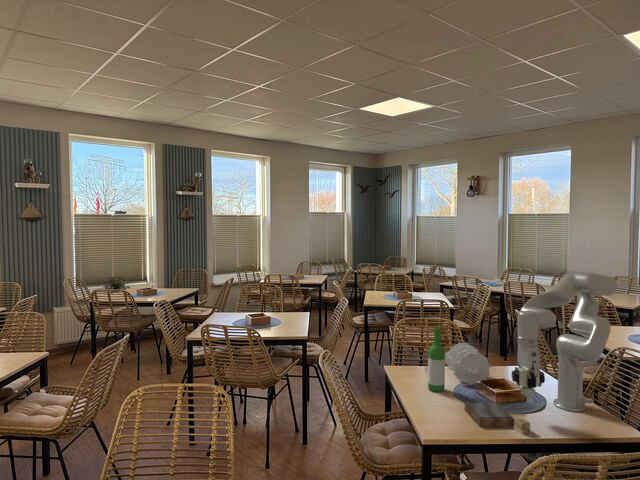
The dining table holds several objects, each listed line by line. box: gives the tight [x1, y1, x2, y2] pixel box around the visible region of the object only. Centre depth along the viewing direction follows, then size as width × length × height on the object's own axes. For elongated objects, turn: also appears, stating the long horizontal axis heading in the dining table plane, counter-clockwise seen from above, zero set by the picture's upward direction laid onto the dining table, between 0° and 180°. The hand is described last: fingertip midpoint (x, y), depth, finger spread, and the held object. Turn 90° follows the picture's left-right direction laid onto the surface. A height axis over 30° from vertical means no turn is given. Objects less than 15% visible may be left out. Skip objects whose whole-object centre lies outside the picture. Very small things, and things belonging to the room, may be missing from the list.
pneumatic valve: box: [511, 366, 546, 398], centre depth 185 cm, size 6×12×12 cm, turn 79°
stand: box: [464, 402, 515, 428], centre depth 185 cm, size 14×16×3 cm
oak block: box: [513, 417, 531, 435], centre depth 173 cm, size 4×4×4 cm
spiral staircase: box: [445, 341, 492, 386], centre depth 231 cm, size 18×18×25 cm
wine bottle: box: [427, 326, 446, 393], centre depth 216 cm, size 8×8×30 cm
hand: (527, 384), depth 185 cm, fingers closed on pneumatic valve, 5 cm apart
